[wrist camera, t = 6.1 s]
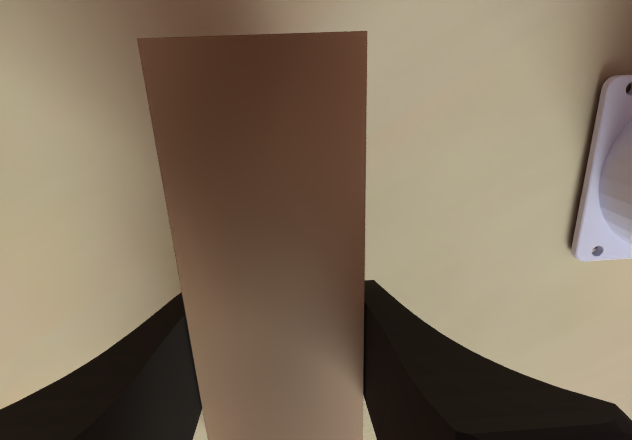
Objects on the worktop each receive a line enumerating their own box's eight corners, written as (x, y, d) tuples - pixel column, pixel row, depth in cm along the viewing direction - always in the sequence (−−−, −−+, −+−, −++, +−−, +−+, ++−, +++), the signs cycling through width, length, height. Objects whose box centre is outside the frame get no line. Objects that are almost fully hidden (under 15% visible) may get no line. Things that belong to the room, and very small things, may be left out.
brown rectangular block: (362, 38, 11) (395, 29, 7) (359, 510, 17) (375, 616, 14) (164, 45, 10) (107, 39, 7) (238, 520, 17) (226, 630, 14)
